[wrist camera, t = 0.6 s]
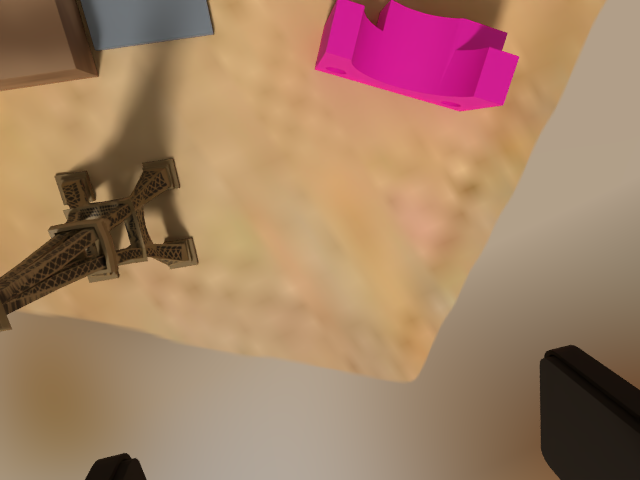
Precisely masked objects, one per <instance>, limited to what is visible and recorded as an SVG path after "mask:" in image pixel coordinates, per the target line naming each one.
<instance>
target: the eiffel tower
mask: <svg viewBox="0 0 640 480" xmlns="http://www.w3.org/2000/svg"><path fill="white" fill-rule="evenodd" d="M142 164H143V168H142V169H143V173H142V175H141V177H140V179H139V181H138V183H137V185H136V186H135V188H134V190H133V192H132V194H131V196H130V197H127V198H122V199H116V200H111V201H104V202H96V203H90V202H91V201H95V200H96V199H95V196H94V193H93V190H92V186H91V183H90V180H89V176H88V173H87V171H84V172H77V173H70V174H63V175H56V176H55V179H56V182H57V185H58V188H59V191H60V194H61V197H62V200H63V203H64V205H69V207H70V209H67V210H63V212H64V214H65V216H66V219H67V222H66V223H65V224H60V225H55V226H51V227H50V228H49V230H48V232H49V234H50V236H51V238H52V239H50V240H49V241H48V242H46V243H45V244H44V245H43V246H41V247H40V248H39V249H37V250H36V251H35V252H34V253H32V254H31V255H30V256H29V257H27V258H26V259H25V260H23V261H22V262H21V263H20V264H18V265H17V266H16V267H14V268H13V269H11V270H10V271H9V272H7V273H6V274H5V275H3V276H2V277H0V331H6V330H11V329H12V328H11V325H10V323H9V320H8V318H7V314H9V313H11V312H13V311H15V310H17V309H19V308H21V307H23V306H25V305H27V304H29V303H31V302H33V301H35V300H37V299H39V298H41V297H43V296H45V295H47V294H49V293H51V292H53V291H55V290H57V289H59V288H62V287H64V286H66V285H68V284H70V283H73V282H75V281H77V280H79V279H82V278H84V277H86V276H88V279H89V283H92V282H97V281H103V280H109V279H115V278H119V275H118V272H117V271H118V266H119V265H125V264H131V263H137V262H144V261H148V260H147V257H152V258H154V259H156V260H158V261H160V262H162V263H164V264H166V265H168V266H169V267H170V269H174V268H180V267H186V266H192V265H198V261H197V257H196V252H195V248H194V244H193V240H192V238H189V239H183V240H177V241H170V242H164V243H163V244H153V242H152V240H151V238H150V236H149V234H148V232H147V229H146V225H145V220H144V212H143V205H144V204H146V203H147V202H149V201H150V200H152V199H153V198H155V197H156V196H158V195H159V194H161V193H162V192H164V191H165V190H171V189H175V188H180V186H179V182H178V177H177V173H176V169H175V165H174V161H173V159H167V160H160V161H153V162H146V163H142ZM98 218H99V219H98ZM123 221H124V223H125V226H126V229H127V232H128V236H129V240H130V244H131V245H130V246H129V247H127V248H126V249H120V250H117V251H115V248H114V244H113V241H112V238H111V234H110V231H109V230H111V229H112V228H114V227H115V226H117V225H118V224H120V223H121V222H123Z"/></svg>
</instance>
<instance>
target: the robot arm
mask: <svg viewBox="0 0 640 480" xmlns="http://www.w3.org/2000/svg"><path fill="white" fill-rule="evenodd" d="M540 413H541V414H540V415H541V451H542V454H543V456H544V459H545V460H546V462H547V464H548V465H549V466H550V468H551V469H552V470H553V471H554V472H555V474H556V475H557V476H558V477H559V478H560V480H640V390H639V389H637V388H636V387H634V386H633V385H632V384H630V383H629V382H627V381H626V380H624V379H623V378H621V377H620V376H619V375H617V374H616V373H614V372H613V371H611V370H610V369H608V368H607V367H605V366H604V365H603V364H601V363H600V362H598V361H597V360H595V359H594V358H593V357H591V356H590V355H588V354H587V353H585V352H584V351H582V350H581V349H580V348H578V347H576V346H574V345H569V346H565V347H560V348H556V349H552V350H549V351H547V352H546V353H545V356H544V358H543V359H541V361H540ZM85 480H146V477H145V475H144V472H143V470H142V468H141V465H140V463H139V461H138V460H137V459H136V458H134V459H131V457H130V456H129V455H128V454H127V453H123V454H120V455H115V456H111V457H107V458H103V459H99V460H97V461H96V462H95V463H94V464H93V466H92V468H91V469H90V471H89V473H88V475H87V477H86V479H85Z"/></svg>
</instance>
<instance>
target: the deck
mask: <svg viewBox="0 0 640 480" xmlns="http://www.w3.org/2000/svg"><path fill="white" fill-rule="evenodd" d="M92 77H98V73H97V70H96V67H95V63H94V60H93V57H92V53H91V50H90V46H89V43H88V40H87V36H86V33H85V30H84V26H83V23H82V20H81V16H80V13H79V9H78V6H77V3H76V0H0V91H3V90H10V89H17V88H24V87H31V86H38V85H44V84H51V83H58V82H65V81H72V80H79V79H85V78H92Z"/></svg>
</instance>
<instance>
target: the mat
mask: <svg viewBox="0 0 640 480" xmlns="http://www.w3.org/2000/svg"><path fill="white" fill-rule="evenodd" d="M80 1H81V4H82V7H83V11H84V14H85V18H86V21H87V24H88V28H89V31H90V35H91V38H92V41H93V45H94V48H95V50H96V51H99V50H107V49H114V48H121V47H128V46H135V45H142V44H149V43H156V42H163V41H170V40H177V39H184V38H192V37H199V36H206V35H213V34H214V33H213V28H212V24H211V19H210V14H209V10H208V5H207V0H80Z"/></svg>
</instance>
